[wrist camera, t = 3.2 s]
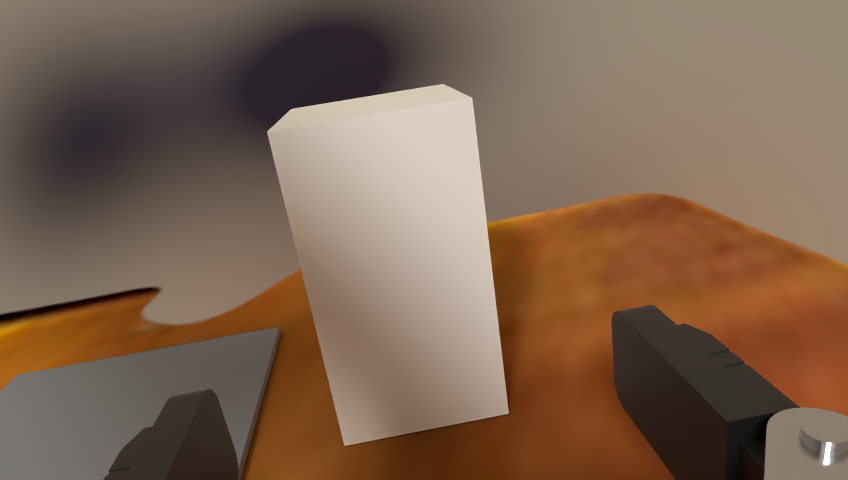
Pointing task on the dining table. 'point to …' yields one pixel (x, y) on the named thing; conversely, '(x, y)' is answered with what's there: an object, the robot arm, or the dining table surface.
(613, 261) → the dining table surface
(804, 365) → the dining table surface
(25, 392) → the mat
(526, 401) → the dining table surface
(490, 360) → the cream rectangular box
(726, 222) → the dining table surface
